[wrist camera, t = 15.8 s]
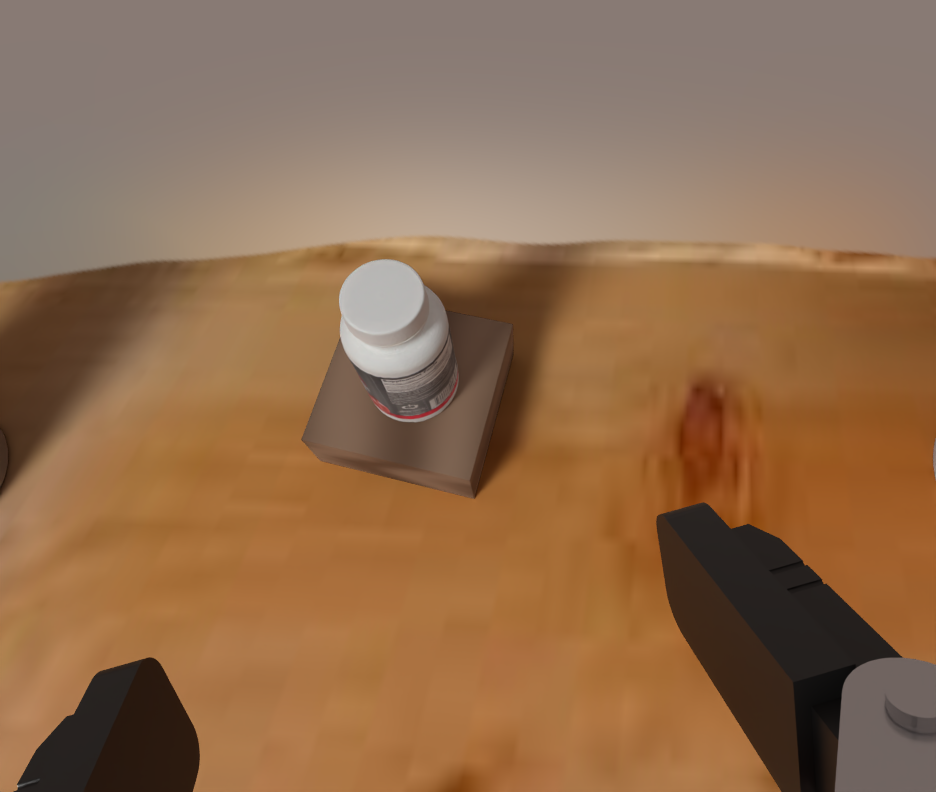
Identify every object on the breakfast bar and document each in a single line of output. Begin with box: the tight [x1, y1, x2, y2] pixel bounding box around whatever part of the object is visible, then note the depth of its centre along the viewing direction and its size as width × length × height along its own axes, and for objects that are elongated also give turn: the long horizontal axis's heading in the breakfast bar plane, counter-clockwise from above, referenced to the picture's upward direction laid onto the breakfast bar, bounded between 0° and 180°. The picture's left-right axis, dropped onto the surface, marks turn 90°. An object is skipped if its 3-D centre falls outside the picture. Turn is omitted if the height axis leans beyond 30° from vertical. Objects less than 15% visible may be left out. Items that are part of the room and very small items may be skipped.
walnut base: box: [301, 310, 513, 499], centre depth 41 cm, size 10×10×4 cm
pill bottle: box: [339, 259, 459, 422], centre depth 35 cm, size 5×5×10 cm
